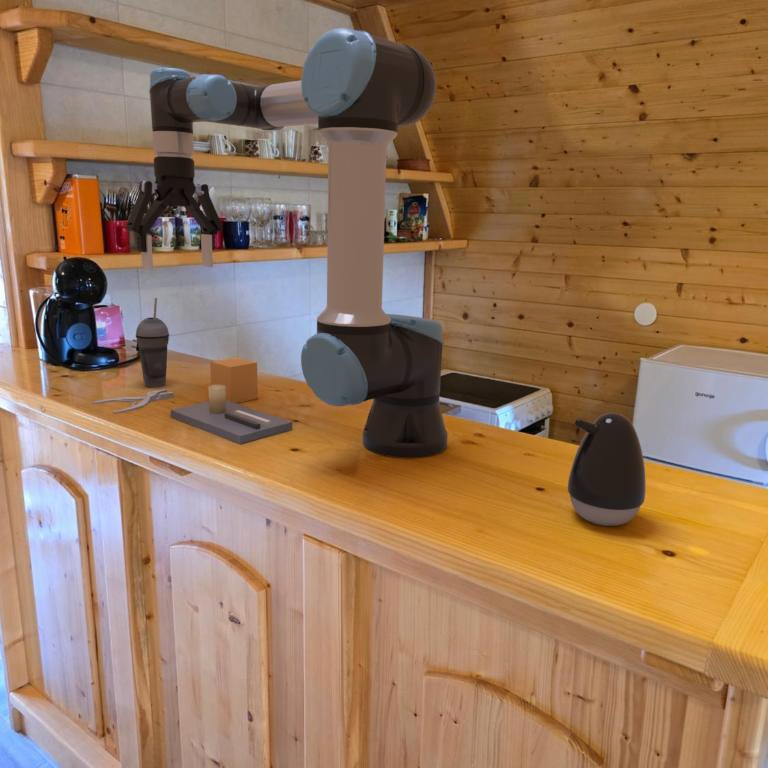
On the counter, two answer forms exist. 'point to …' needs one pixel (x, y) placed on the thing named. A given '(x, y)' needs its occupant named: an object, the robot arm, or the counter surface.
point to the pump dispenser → (608, 471)
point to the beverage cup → (153, 349)
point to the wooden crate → (236, 378)
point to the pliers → (145, 400)
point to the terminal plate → (230, 418)
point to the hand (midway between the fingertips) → (178, 268)
